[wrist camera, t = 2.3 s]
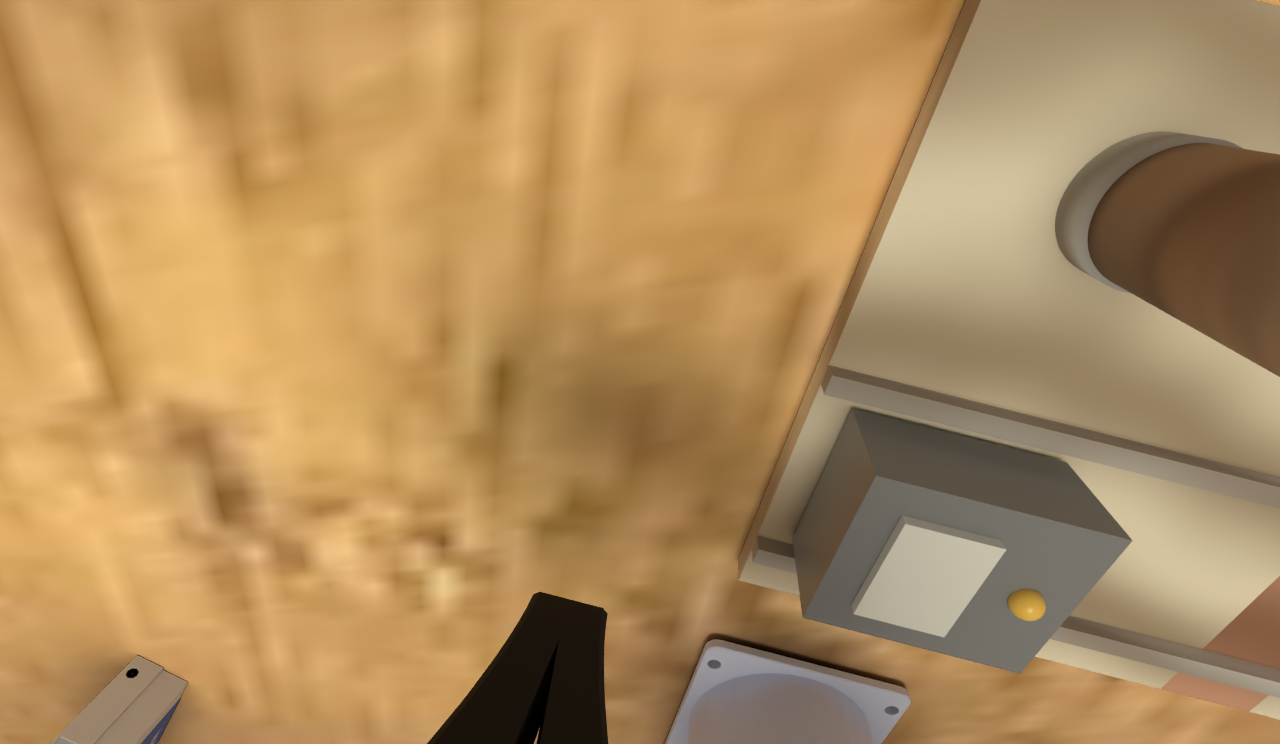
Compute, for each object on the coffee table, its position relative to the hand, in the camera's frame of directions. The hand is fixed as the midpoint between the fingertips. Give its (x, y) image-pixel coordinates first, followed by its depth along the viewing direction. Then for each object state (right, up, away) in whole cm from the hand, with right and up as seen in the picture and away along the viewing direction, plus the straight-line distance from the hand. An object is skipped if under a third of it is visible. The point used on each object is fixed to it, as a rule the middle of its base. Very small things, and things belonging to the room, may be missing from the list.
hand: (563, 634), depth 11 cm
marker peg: (+12, +9, +2) cm, 15 cm away
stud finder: (+10, +1, +6) cm, 12 cm away
